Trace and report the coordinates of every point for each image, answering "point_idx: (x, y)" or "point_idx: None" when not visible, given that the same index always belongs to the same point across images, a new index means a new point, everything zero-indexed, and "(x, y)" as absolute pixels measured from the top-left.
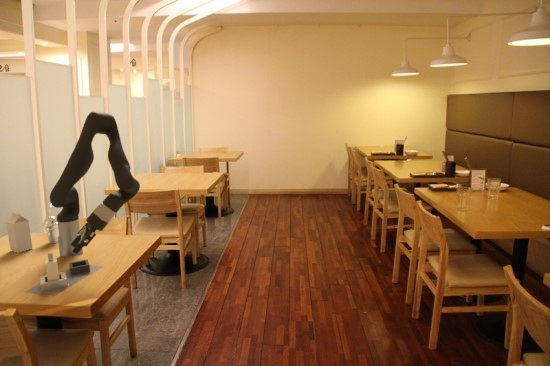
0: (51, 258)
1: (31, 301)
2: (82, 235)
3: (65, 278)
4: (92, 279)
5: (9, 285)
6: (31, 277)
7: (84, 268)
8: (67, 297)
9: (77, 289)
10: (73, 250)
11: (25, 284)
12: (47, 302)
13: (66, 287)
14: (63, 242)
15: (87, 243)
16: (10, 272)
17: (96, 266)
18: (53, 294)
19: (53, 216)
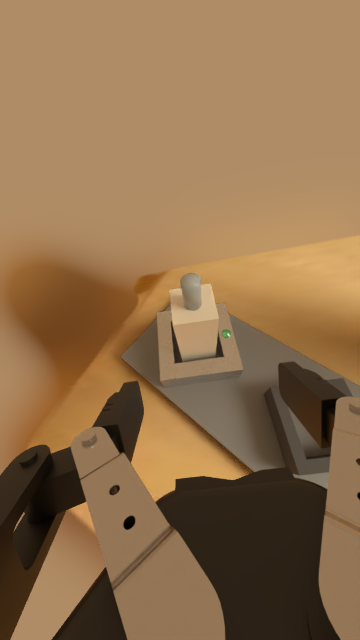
0: (183, 298)
1: (144, 312)
2: (98, 487)
3: (171, 375)
4: (228, 478)
5: (261, 260)
6: (303, 290)
7: (285, 447)
8: (116, 391)
9: (159, 418)
10: (123, 387)
11: (256, 286)
12: (116, 345)
13: (160, 383)
14: None
15: (15, 533)
16: (350, 246)
17: None
18: (128, 352)
19: None
